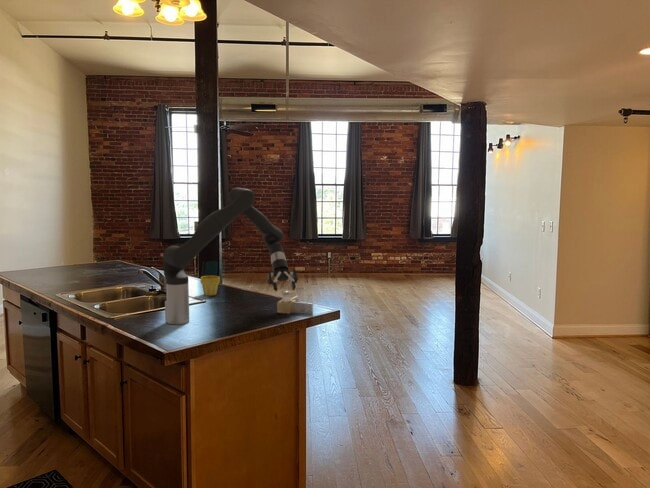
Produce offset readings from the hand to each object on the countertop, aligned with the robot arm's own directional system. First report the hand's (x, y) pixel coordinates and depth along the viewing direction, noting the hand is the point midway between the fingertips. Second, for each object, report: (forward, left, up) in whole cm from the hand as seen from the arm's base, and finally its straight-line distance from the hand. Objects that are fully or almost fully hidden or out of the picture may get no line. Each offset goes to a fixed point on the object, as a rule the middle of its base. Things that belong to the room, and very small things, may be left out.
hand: (285, 289), depth 232 cm
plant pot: (-54, +19, -10) cm, 59 cm away
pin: (+1, -1, -10) cm, 10 cm away
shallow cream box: (+7, +3, -10) cm, 12 cm away
